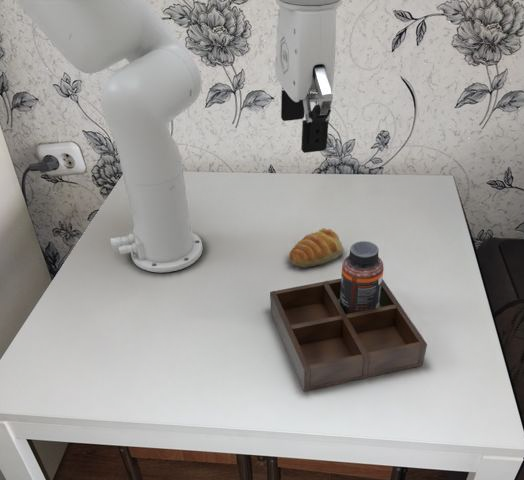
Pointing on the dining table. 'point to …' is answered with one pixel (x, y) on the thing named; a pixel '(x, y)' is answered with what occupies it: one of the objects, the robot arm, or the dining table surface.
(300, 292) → the grid
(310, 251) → the pastry
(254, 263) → the dining table surface
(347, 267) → the supplement bottle
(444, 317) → the dining table surface
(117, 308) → the dining table surface
